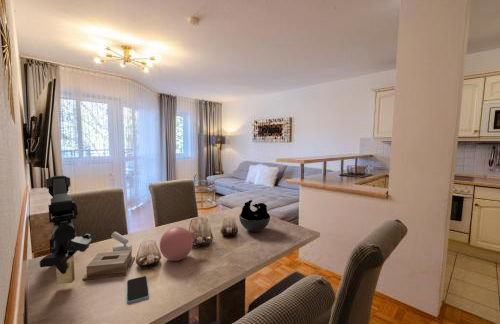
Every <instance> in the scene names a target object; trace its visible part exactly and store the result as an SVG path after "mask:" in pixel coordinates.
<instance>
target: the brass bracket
mask: <svg viewBox="0 0 500 324" xmlns="http://www.w3.org/2000/svg"><path fill="white" fill-rule="evenodd" d="M68 256H71V255H68ZM55 270H56V271H55V272H56V274H55V275H56V285H62V284H63V285H65V284H71V283H74V282H75V280H76V276H75V274H76V273H75V260H74V258H73V257H72V256H71V257H70V258H69V259H68V260H67V267H66V273H65V274H62V273H61V272H60V271H59V270H58V269H57V268H56V267H55Z"/></svg>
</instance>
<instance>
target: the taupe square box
mask: <svg viewBox="0 0 500 324" xmlns="http://www.w3.org/2000/svg"><path fill="white" fill-rule="evenodd" d="M132 255H133V254H132V249H131V250H125V251H113V250H112V251H105V252H104V251H103V252H102V251H101V252H98V253H97V254H96V255H95V256H94V257H93V258H92V260H91V261H90V262H89V263H88V264H87V265H86V273H85V275H84V276H83V278H82V281H89V280H90V281H92V280H99V279H108V278H118V277H126V276H127V274H128V272H129V270H130V268H131V267H132V264H133V263H134V260H135V258H136V257H135V256H132Z"/></svg>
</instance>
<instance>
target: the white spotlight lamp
mask: <svg viewBox="0 0 500 324" xmlns="http://www.w3.org/2000/svg"><path fill="white" fill-rule="evenodd" d="M110 236H111V238H113V239H114V240H116V241H117V242H119V243H116V244H114V245H113V246H112V252H113V251H125V250H132V249H133V245H132V242H130V241H129V239H128V238H127V237H125V236H124V235H121V233H119V232H118V231H113V232H112V234H111V235H110Z"/></svg>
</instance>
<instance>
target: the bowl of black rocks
mask: <svg viewBox="0 0 500 324" xmlns="http://www.w3.org/2000/svg"><path fill="white" fill-rule="evenodd" d="M252 202H253V200H252V199H250V200H248V201H246V202H244V204H243V207H242V209H241V212H240V214H239V215H238V217H239V222H240V224H241V226H242V227H243V228H244V229H245V230H247V231H249V232H252V233H258V232H261V231H263V230H264V229H265V228H266V227H267V226H268V225H269V223H270V221H271V215H270V213H268V208H267V207H268V206H267V204H265V202H258V203H254V204H252ZM251 204H252V205H251ZM251 206H253V207H254V208H255V210H253V209H251Z"/></svg>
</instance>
